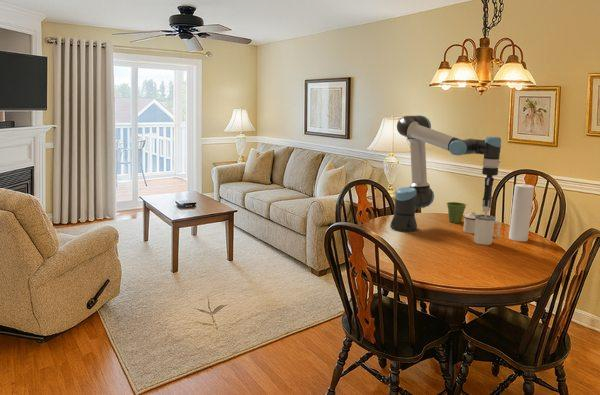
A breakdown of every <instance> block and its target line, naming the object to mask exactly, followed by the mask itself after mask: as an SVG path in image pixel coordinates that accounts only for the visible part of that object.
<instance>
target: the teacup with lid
mask: <svg viewBox="0 0 600 395" xmlns="http://www.w3.org/2000/svg"><path fill="white" fill-rule="evenodd" d="M476 215H478V214H477V213H475V211H471V212H470V213H468V214H465V215H463V228H462V230H463V232H464V233H466V234H471V235H474V233H475V223H476V218H475V216H476Z"/></svg>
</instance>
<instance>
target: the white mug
mask: <svg viewBox="0 0 600 395" xmlns="http://www.w3.org/2000/svg"><path fill="white" fill-rule="evenodd" d="M484 216H485V214H477V215H476V216H475V218H476V223H475V233H474V234H473V236H474V237H473V243H476V244H478V245H484V246H486V245H487V246H488V245H492V244H493V238H494V237H495V238H499V237H500V230H501V221H496V216H493V215H490V214H487V217H486V218H484ZM495 224H496V225H497V231H496V234H494V229H495Z"/></svg>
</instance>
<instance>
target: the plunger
mask: <svg viewBox="0 0 600 395" xmlns="http://www.w3.org/2000/svg"><path fill="white" fill-rule="evenodd" d="M491 197H492V196H491ZM491 197H489V200H490V201H489V208H491V207H492V199H493V197H492V198H491ZM483 198H484V196H483ZM483 198H482V199H483ZM483 203H484V200H482V204H483ZM482 208H483V205H482ZM484 215H485V216H484V218H486V217H487V215H488V213H486V212H484Z"/></svg>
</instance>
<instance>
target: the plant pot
mask: <svg viewBox="0 0 600 395" xmlns="http://www.w3.org/2000/svg"><path fill="white" fill-rule="evenodd" d="M446 205H447V211H448V212H447V213H448V214H447V215H448V222H450V223H455V224H458V223H459V224H460V223H462V220H463V218H464V212H465V209H466V208H467V205H468V204H467V203H462V202H458V201H457V202H456V201H449V202H446Z"/></svg>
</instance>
